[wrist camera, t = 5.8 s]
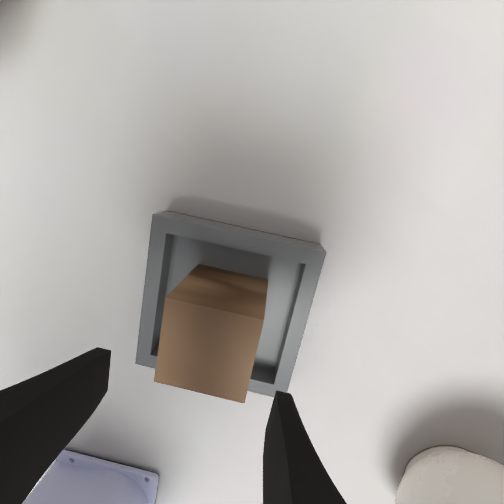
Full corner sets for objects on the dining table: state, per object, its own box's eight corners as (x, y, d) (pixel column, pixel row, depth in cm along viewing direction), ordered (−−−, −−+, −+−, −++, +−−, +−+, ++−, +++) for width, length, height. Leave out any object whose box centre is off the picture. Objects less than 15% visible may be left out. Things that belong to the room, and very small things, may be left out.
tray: (149, 345, 23) (135, 363, 21) (166, 210, 20) (152, 214, 18) (284, 378, 22) (284, 399, 20) (320, 244, 20) (326, 252, 17)
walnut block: (188, 326, 21) (153, 381, 15) (198, 263, 20) (165, 297, 14) (253, 342, 21) (244, 403, 15) (268, 279, 20) (264, 319, 14)
